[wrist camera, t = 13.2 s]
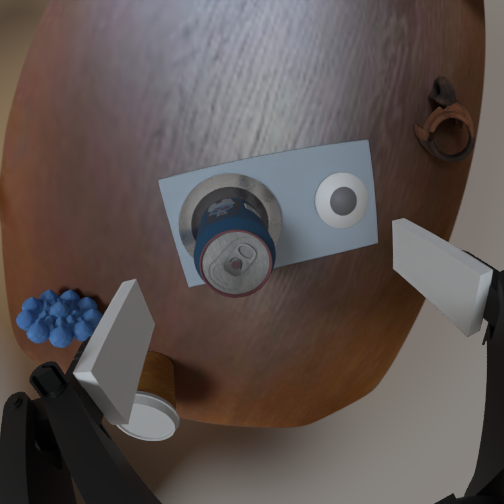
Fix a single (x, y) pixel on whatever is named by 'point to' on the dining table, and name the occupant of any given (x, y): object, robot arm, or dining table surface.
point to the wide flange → (220, 189)
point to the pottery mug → (454, 109)
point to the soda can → (233, 248)
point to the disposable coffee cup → (154, 401)
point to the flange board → (297, 200)
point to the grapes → (59, 318)
